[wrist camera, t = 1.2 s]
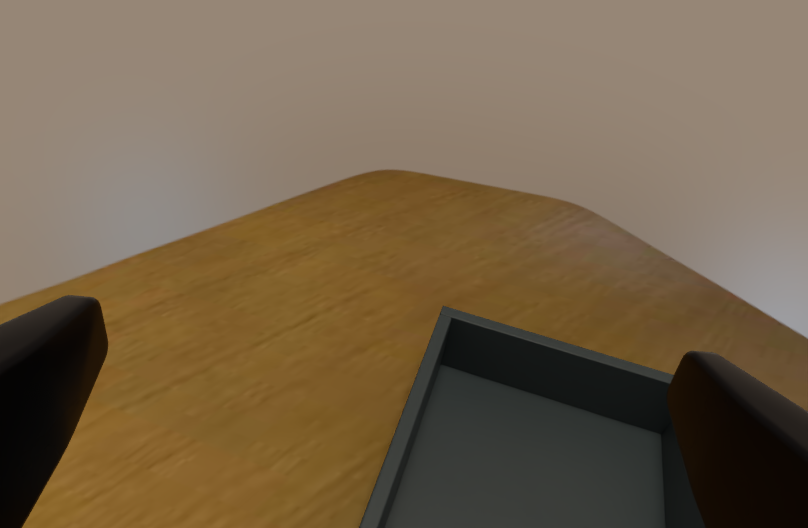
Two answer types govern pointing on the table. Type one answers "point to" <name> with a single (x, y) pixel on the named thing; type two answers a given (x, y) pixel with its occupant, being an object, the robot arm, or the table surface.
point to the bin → (530, 438)
